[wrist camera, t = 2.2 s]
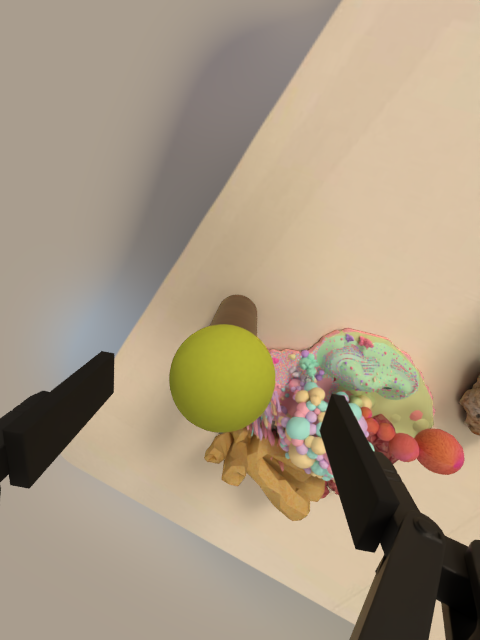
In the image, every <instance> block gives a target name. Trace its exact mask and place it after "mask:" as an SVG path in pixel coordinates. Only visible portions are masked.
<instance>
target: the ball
mask: <svg viewBox="0 0 480 640" xmlns="http://www.w3.org/2000/svg"><path fill="white" fill-rule="evenodd" d="M169 382H170V390H171V394H172V397H173V400H174V402H175V404H176V406H177V408H178V409H179V411H180V412H181V413H182V415H183V416H184V417H185V418H186V419H187V420H188V421H190V422H191V423H192V424H194V425H196V426H197V427H200V428H202V429H204V430H207V431H211V432H221V433H224V432H232V431H236V430H240V429H242V428H244V427H246V426H248V425H250V424H251V423H253V422H254V421H255V420H257V419H258V418H259V417H260V415H261V414H262V413H263V412H264V411H265V409H266V408H267V406H268V405H269V403H270V401H271V398H272V395H273V392H274V388H275V367H274V364H273V360H272V357H271V355H270V353H269V351H268V350H267V348H266V346H265V345H264V344H263V343H262V341H261V340H260V339H259V338H258V337H256V336H255V335H254V334H252V333H251V332H249V331H247V330H245V329H243V328H241V327H238V326H234V325H227V324H220V325H212V326H209V327H205V328H203V329H200V330H199V331H197V332H195V333H194V334H192V335H191V336H190V337H188V338H187V339H186V340H185V341H184V342H183V343H182V345H181V346H180V347H179V349H178V350H177V352H176V354H175V356H174V358H173V361H172V364H171V369H170V376H169Z"/></svg>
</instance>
